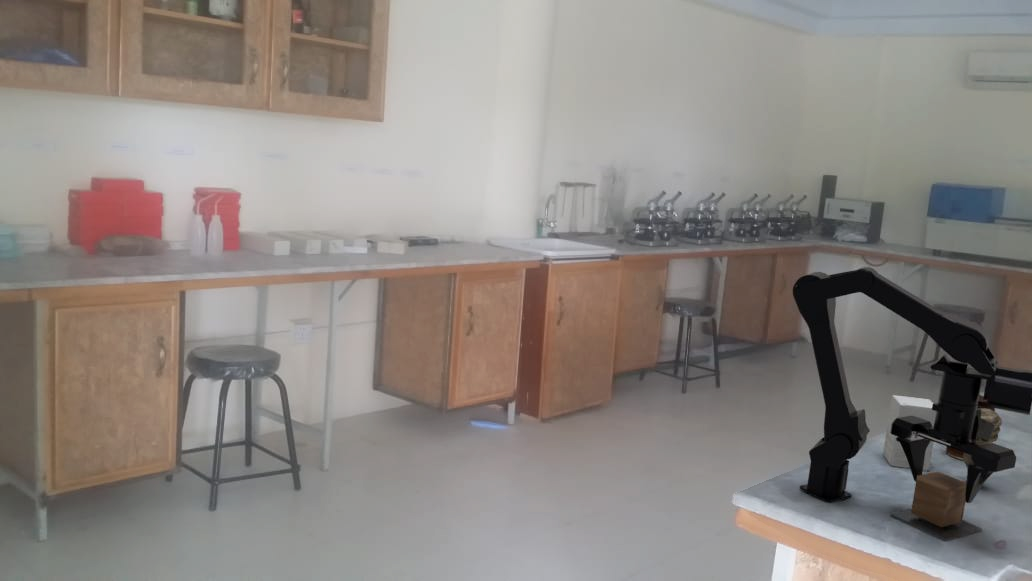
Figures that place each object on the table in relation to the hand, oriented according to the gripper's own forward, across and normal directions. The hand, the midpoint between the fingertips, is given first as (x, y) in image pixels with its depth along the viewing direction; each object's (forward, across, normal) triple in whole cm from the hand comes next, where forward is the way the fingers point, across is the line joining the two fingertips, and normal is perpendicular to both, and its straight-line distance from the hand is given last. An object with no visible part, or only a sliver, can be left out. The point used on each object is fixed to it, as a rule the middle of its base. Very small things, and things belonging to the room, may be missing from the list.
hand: (942, 491), depth 147 cm
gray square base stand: (+6, 0, 0) cm, 6 cm away
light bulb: (+6, +8, -24) cm, 26 cm away
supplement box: (+6, +21, -22) cm, 31 cm away
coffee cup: (+6, +19, -38) cm, 43 cm away
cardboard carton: (+5, 0, 0) cm, 5 cm away
